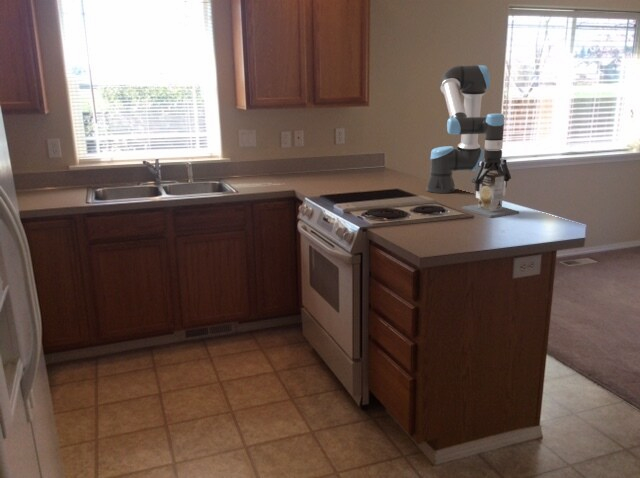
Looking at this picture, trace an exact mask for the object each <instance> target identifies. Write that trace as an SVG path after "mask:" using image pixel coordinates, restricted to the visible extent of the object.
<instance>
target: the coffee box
mask: <svg viewBox="0 0 640 478" xmlns="http://www.w3.org/2000/svg"><path fill="white" fill-rule="evenodd" d="M480 184H482V191H481V199H478V204H479V205H478V204H477V205H478V208H481V209H485V210H489V211H498V210H502V207H503V200H504V199H503V187H504V175H501V174H498V173H497V172H493V171H489V172H488V173H487V175H486V176H485V177H484V179H483V180H482V182H481V183H480Z"/></svg>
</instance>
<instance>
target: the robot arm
mask: <svg viewBox="0 0 640 478" xmlns="http://www.w3.org/2000/svg"><path fill="white" fill-rule="evenodd" d="M439 82H440V83H439V88H440V91H441V93H442V94H443V96H444V100H445V103H446V107H447V111H448V115H449V117H448V119H447V121H446V122H447V123H446V129H447V133H448V134H449V135H457V136H458V135H460V143H458V144H457V146H456V147H457V148H454V146H451V145H448V146H446V145H445V146H439V147H435V148H433V149H432V150H431V151H430V172H429V179H428V181H427V185H426V188H425V189H426V190H425V191H426V192H428V193H429V192H430V193H435V194H448V193H454V192H456V186H455V182H454V177H453V172H467V171H469V172H472V171H475V173H474V174H473V177H472V180H471V183H474V186H475V187H474V190H475V198H476V199H478V200H479V199H481V191H482V184H480V183H481V182H482V180H483V179H484V177H485V176H486V175H487V173H488V172H493V171H496V173H497V174H501V175H504V187H503V196H506V188H507V186H508V185H507V184H508V182H509V181H510V180H511V178H512V176H511V174H510V170H509V168H508V165H507V164H508V163H507V159H503V143H504V131H505V130H504V129H505V128H504V127H505V115H504V114H503V113H487V115H485V116H481V110H482V109H481V108H482V97H483V96H484V95H485V94H486V91H487V90H488V89H490V86H491V75H490V71H489V69H488V66H486V65H480V64H471V65H470V64H469V65H454V66H451V67H450V68H448V69H447V70H446V71H445V72H444V73H443V75H442V76H441V79H440V81H439ZM462 95H463V97H464V99H463V97H462ZM479 135H485V137H484V149H485V150H484V151H483V149H482V148H481V145H480V144H479V142H478V140H479ZM483 159H484V160H483Z"/></svg>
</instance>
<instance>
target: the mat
mask: <svg viewBox="0 0 640 478" xmlns="http://www.w3.org/2000/svg"><path fill="white" fill-rule="evenodd" d="M478 205H479V203H477V204H471V205H463V206H461V210H465V211H467V212H471V213H474V214H477V215H479V216H483V217H487V218H489V219H492V218H499V217H505V216H511V215H512V216H513V215H519V214H520V211H519V210H516V209H513V208H509V207H505V206H502V210H498V211H489V210H485V209H481V208H478Z"/></svg>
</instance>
